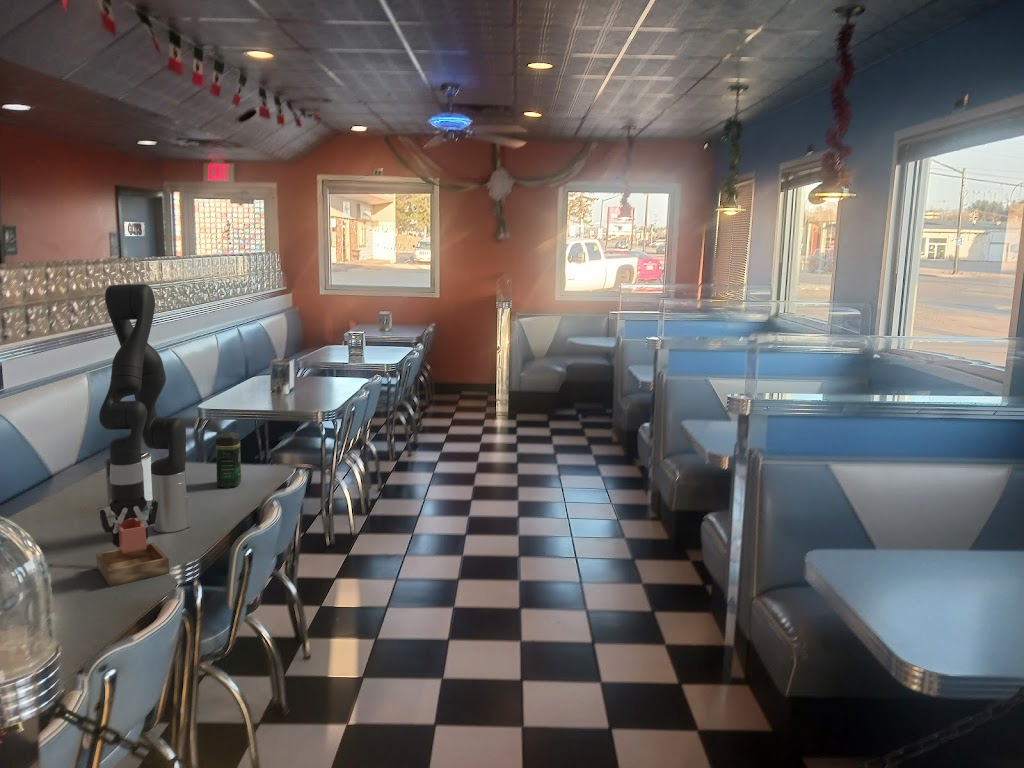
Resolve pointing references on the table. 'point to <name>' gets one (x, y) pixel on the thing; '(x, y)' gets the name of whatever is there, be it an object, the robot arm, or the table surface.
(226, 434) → the coffee jar
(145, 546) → the red open box
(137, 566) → the wooden crate
